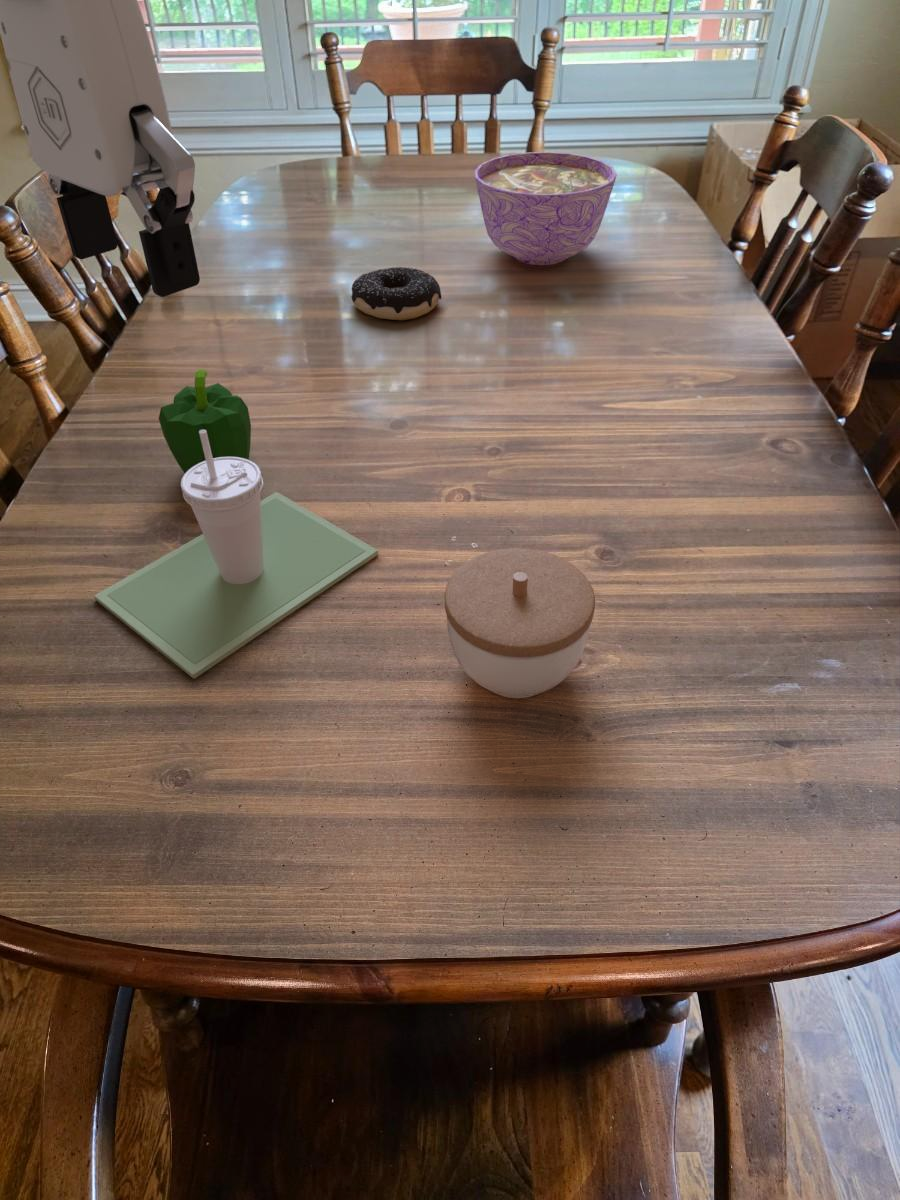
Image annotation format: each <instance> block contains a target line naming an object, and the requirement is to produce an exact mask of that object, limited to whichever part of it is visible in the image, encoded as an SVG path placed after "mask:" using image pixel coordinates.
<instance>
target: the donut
mask: <svg viewBox="0 0 900 1200" xmlns="http://www.w3.org/2000/svg"><path fill="white" fill-rule="evenodd" d="M350 297H351V301H352V303H353V305H354V306H355V307H356V309H358V310H360V311H361V312H363V313H364V314H366V315H369V316H372V317H375V318H378V319H384V320H391V321H407V320H412V319H417V318H419V317H421V316H424V315H426V314H428V313H430V311H432V310H434V309H435V308H436V306H437V305H438V303H439V300H442V293H441V287H440V284H439V282H438V281H437V279H436V278H435V277H434V276H433V275H431V274H430V273H428V272H425V271H424V270H421V269H418V268H415V267H414V268H413V267H409V266H408V267H405V266H404V267H402V266H396V267H387V268H380V269H377V270H372V271H368V272H366V273H363V274H360V275H359V276H358V277H357V278H356V279H354V281H353V282H352V285H351V296H350Z"/></svg>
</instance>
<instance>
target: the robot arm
mask: <svg viewBox="0 0 900 1200" xmlns="http://www.w3.org/2000/svg"><path fill="white" fill-rule="evenodd" d="M0 36H1V41H2V45H3V46H2V47H3V50H4V51H3V52H4V55H5V59H6V63H7V68H8V73H9V77H10V80H11V85H12V89H13V93H14V97H15V100H16V104H17V108H18V113H19V116H20V120H21V123H22V128H23V131H24V134H25V138H26V142H27V145H28V148H29V152H30V155H31V158H32V161H33V162H34V164H36V166H37V167H38V168H39V169H40V170H42V171H43V172H45V173H46V174H48V185H49V188H50V189H51V192H52V193H53V194H54V195H55V196H57V197H56V198H55V199H56V201H57V205H58V209H59V212H60V215H61V219H62V222H63V226H64V229H65V233H66V236H67V240H68V243H69V246H70V250H71V253H72V256H74V258H77V259H79V260H85V259H89V258H91V257H95V256H98V255H103V254H105V253H108V252H111V251H114V250H116V249H117V248H118V245H119V243H118V239H117V235H116V230H115V227H114V224H113V223H114V222H113V219H112V215H111V212H110V207H109V204H108V199H107V197H114V196H117V195H119V194H121V192H122V191H123V192H124V194H125V195H126V197H127V199H128V201H129V202H130V204H131V206H132V208H133V210H134V211H135V213H136V214H137V216H138V218H139V220H140V221H141V223H142V224H143V227H144V228H145V229H143V230H138V234H139V238H140V242H141V246H142V251H143V255H144V260H145V264H146V268H147V272H148V277H149V280H150V285H151V289H152V292H153V294H155V295H156V296H158V297H160V298H165V297H167V296H170V295H173V294H176V293H179V292H182V291H185V290H187V289H190V288H193V287H196V286H197V285H199V283H200V281H201V279H200V273H199V267H198V262H197V257H196V251H195V246H194V242H193V237H192V231H191V226H190V223H192V222H193V218H194V217H193V211H192V208H193V207H194V206H193V205H194V203H195V200H196V199H195V198H196V197H195V193H194V183H195V182H194V181H195V173H196V172H195V171H196V164H195V160H194V158H193V155H191V153H190V152H189V151H188V150H187V149H186V148H185V147H184V146H183V145H182V143H180V142H179V140H178V139H176V137H175V136H174V133H173V129H172V125H171V120H170V115H169V110H168V105H167V102H166V97H165V93H164V89H163V85H162V81H161V77H160V72H159V70H158V69H159V68H158V66H157V61H156V57H155V54H154V51H153V47H152V43H151V40H150V37H149V32H148V29H147V27H146V23H145V20H144V16H143V13H142V10H141V8H140V5H139V2H138V0H0ZM156 189H158V193H157V195H156V197H155V200H154V202H153V204H152V202H151V200H150V199H149V197H148V195H147V194H146V192H149V191H152V190H156Z"/></svg>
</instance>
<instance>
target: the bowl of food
mask: <svg viewBox="0 0 900 1200" xmlns="http://www.w3.org/2000/svg"><path fill="white" fill-rule="evenodd" d="M617 175H618V174H617V173H616V170H615V168H614V167H613V166H611V165H610V164H608V163H607V162H605V161H603V160H600V159H597V158H594V157H591V156H586V155H580V154H575V153H570V152H569V153H568V152H556V151H555V152H554V151H534V152H533V151H532V152H530V151H529V152H522V153H521V152H520V153H511V154H506V155H502V156H499V157H494V158H491V159H489V160H487V161H485V162H483V163H480V164H479V166H477V167H476V169H475V170H474V180H475V184H476V190H477V195H478V198H479V204H480V208H481V213H482V214H481V215H482V218H483V222H484V226H485V229H486V234H487V236H488V237H489V238H490V240H491V242H492V243H493V245H494V246H496V247H497V248H498V249H499V250H500V251H501V252H503V253H505V254H507V255H508V256H511V257H513V258H514V259H516V261H518V262H521V263H523V264H528V265H531V266H532V265H533V266H534V265H535V266H550V265H556V264H559V263H562V262H564V261H565V260H567V259H568V258H572V257H573V256H576V255H577V254H579V253H581V252H582V251H584V250H585V249H587V248H588V247H589V246H590V245H591V243H592V242H593V241H594V239H596V236H597V234H598V233H599V229H600V227H601V225H602V222H603V220H604V217H605V213H606V210H607V208H608V204H609V201H610V197H611V194H612V192H613V188H614V186H615V182H616V179H617Z"/></svg>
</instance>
